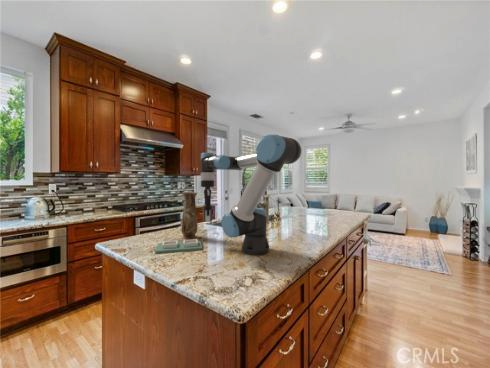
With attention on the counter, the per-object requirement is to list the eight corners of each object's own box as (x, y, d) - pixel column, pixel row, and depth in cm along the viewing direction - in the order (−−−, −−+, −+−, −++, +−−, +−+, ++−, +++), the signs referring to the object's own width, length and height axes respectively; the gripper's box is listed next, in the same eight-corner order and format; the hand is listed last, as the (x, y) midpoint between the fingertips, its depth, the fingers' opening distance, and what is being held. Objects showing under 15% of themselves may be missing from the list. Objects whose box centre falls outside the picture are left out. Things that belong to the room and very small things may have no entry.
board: (200, 242, 139) (200, 237, 139) (202, 249, 126) (202, 244, 126) (158, 245, 133) (158, 239, 133) (155, 253, 120) (155, 247, 119)
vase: (187, 234, 157) (187, 191, 156) (200, 236, 153) (200, 191, 152) (177, 238, 147) (177, 192, 146) (192, 240, 144) (192, 192, 142)
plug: (211, 220, 136) (211, 204, 135) (212, 221, 132) (212, 205, 131) (202, 220, 134) (202, 204, 134) (203, 221, 130) (203, 205, 130)
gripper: (200, 179, 139) (200, 217, 140) (201, 180, 123) (201, 223, 124) (212, 179, 141) (212, 217, 142) (215, 180, 125) (215, 223, 126)
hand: (207, 220), depth 133 cm, fingers closed on plug, 4 cm apart
